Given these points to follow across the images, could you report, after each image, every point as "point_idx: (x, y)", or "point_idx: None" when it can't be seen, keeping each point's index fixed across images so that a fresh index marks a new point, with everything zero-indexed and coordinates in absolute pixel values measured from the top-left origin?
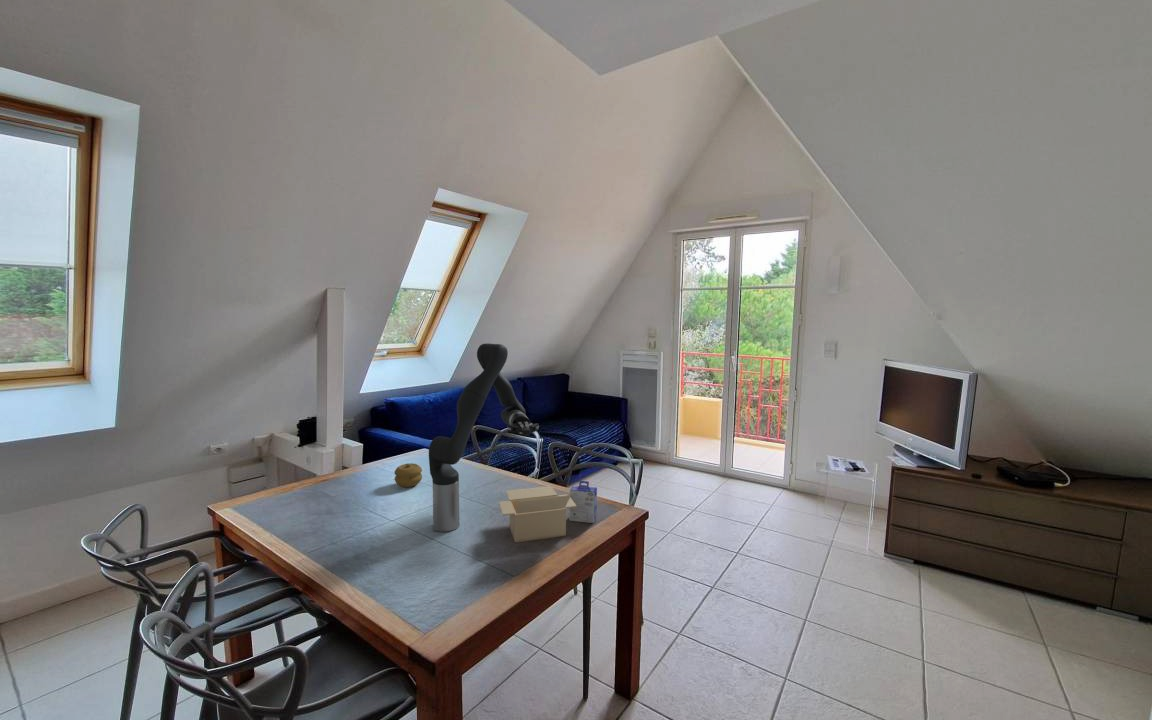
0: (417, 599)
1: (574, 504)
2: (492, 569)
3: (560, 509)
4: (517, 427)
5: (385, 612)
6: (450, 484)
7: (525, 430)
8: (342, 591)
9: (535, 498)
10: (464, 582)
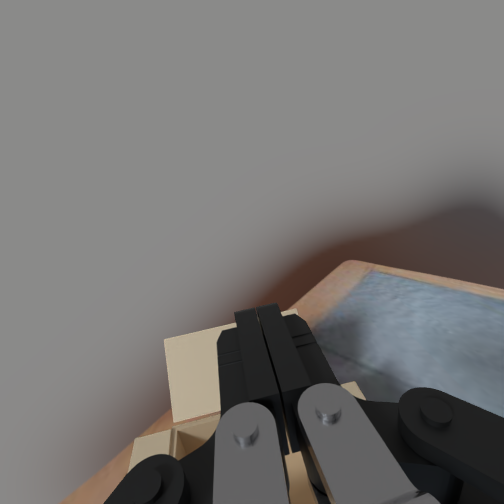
0: (417, 298)
1: (136, 448)
2: (343, 350)
3: (189, 422)
4: (429, 389)
5: (438, 282)
6: None
7: (273, 303)
8: None
9: None
10: (374, 324)
